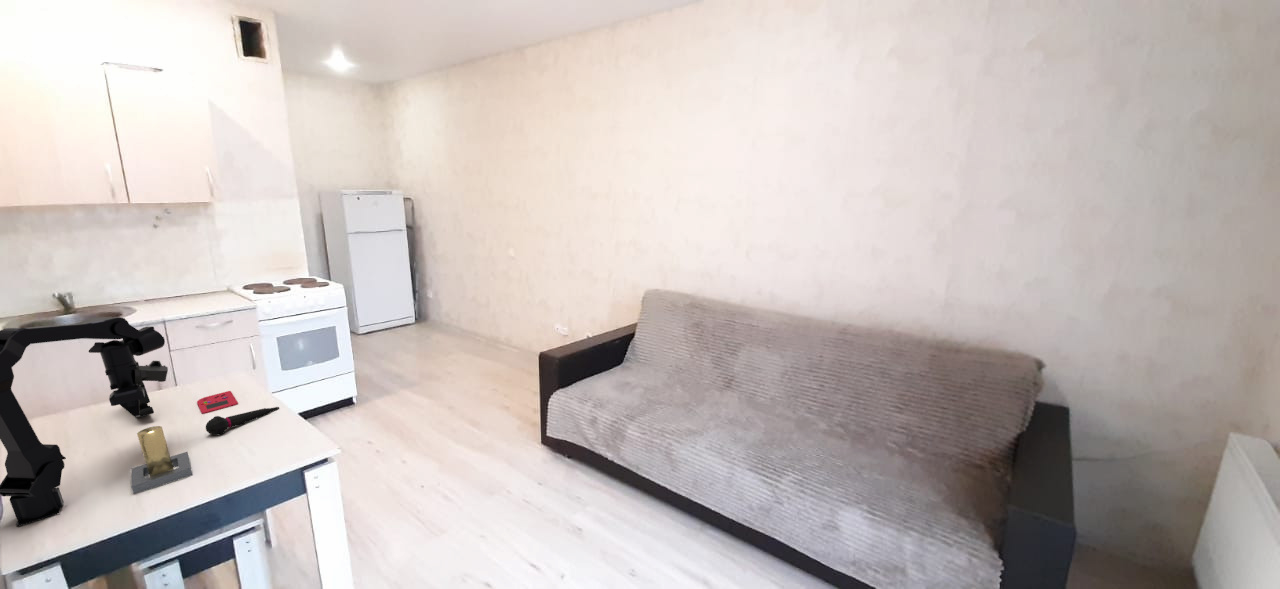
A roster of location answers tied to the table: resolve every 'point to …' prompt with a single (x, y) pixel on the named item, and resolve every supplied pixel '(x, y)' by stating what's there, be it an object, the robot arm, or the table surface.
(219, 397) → the handheld gaming console
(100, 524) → the table surface
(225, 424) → the microphone
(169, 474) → the frame
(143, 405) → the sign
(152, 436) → the ball
